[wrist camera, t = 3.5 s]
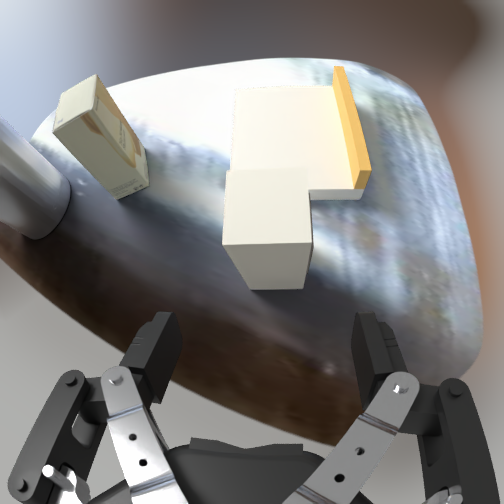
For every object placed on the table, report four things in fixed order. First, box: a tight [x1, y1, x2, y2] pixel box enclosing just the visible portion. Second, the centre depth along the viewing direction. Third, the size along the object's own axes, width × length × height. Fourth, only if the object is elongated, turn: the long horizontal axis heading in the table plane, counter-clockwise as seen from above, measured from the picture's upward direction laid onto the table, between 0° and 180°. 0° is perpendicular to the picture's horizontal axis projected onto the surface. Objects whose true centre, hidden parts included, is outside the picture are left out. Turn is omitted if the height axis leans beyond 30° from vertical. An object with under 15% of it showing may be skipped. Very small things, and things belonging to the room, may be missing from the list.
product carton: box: [222, 167, 314, 290], centre depth 21 cm, size 5×4×11 cm
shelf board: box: [230, 66, 372, 200], centre depth 27 cm, size 12×14×5 cm
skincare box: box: [52, 74, 149, 200], centre depth 25 cm, size 6×4×12 cm
